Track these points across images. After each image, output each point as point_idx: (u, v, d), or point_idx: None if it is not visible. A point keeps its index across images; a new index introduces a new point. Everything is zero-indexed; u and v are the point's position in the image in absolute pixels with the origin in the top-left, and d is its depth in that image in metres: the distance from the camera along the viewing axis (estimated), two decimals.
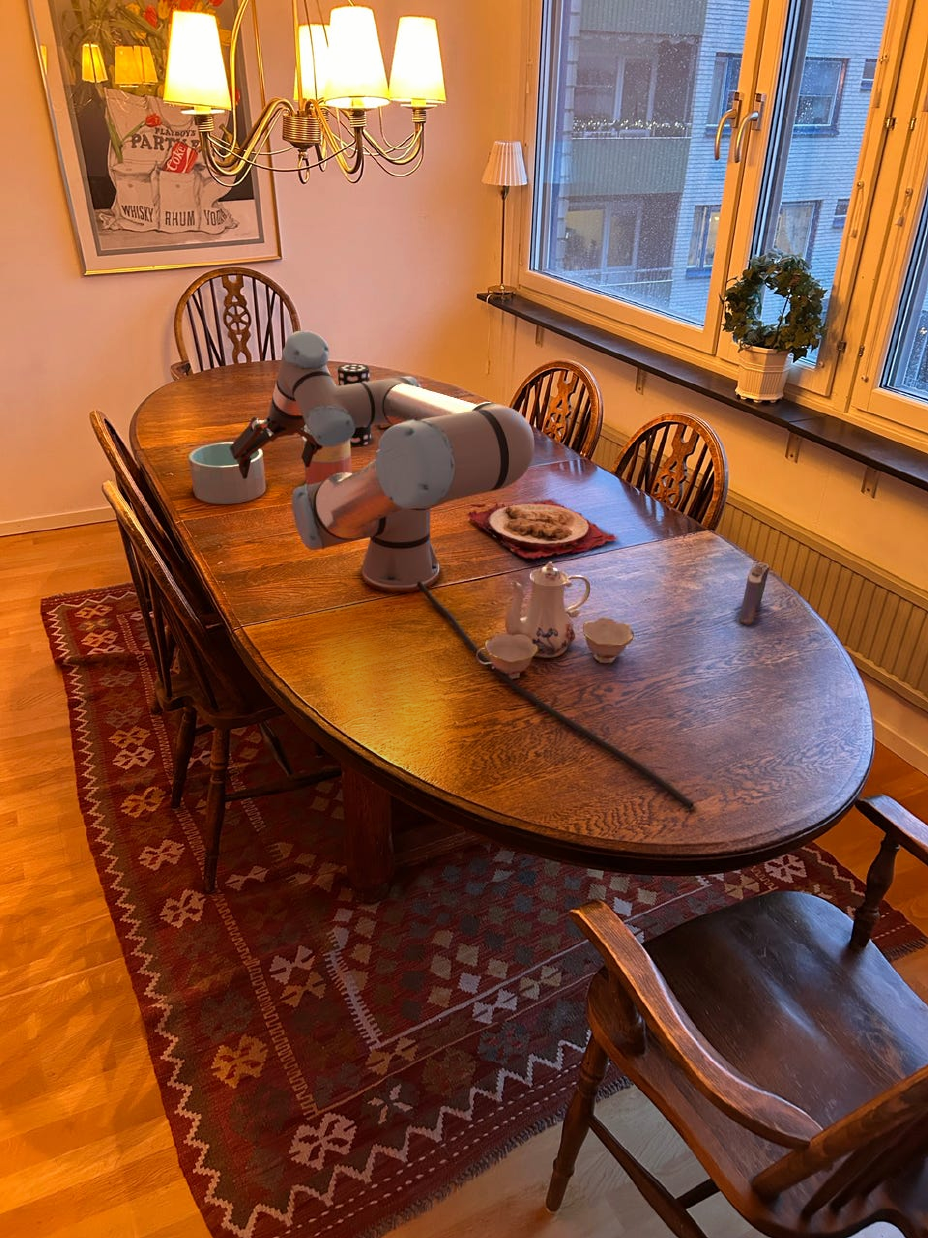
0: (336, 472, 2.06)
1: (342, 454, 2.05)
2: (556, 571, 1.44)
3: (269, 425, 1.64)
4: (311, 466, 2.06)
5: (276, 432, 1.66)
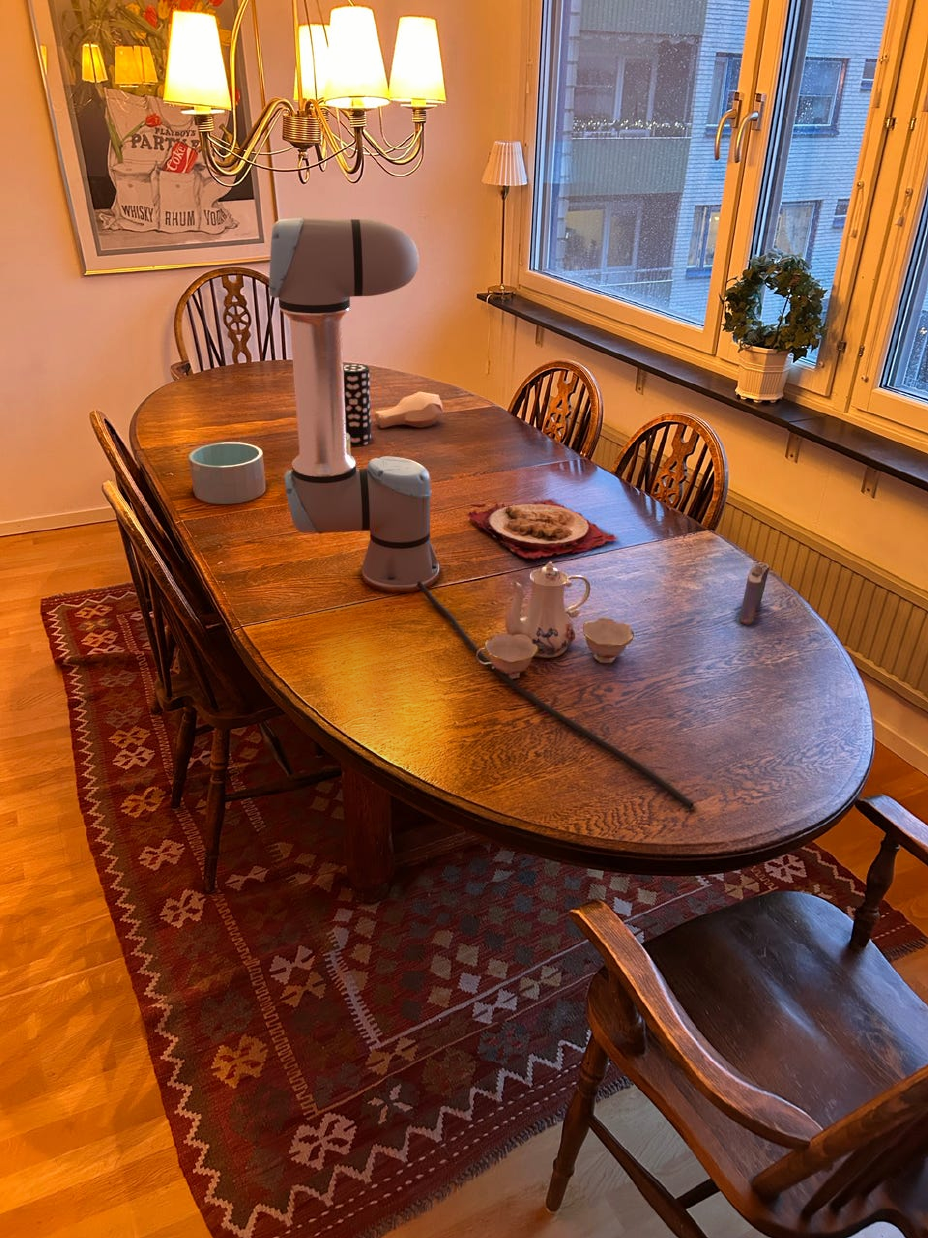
0: None
1: None
2: (556, 571, 1.44)
3: None
4: None
5: None
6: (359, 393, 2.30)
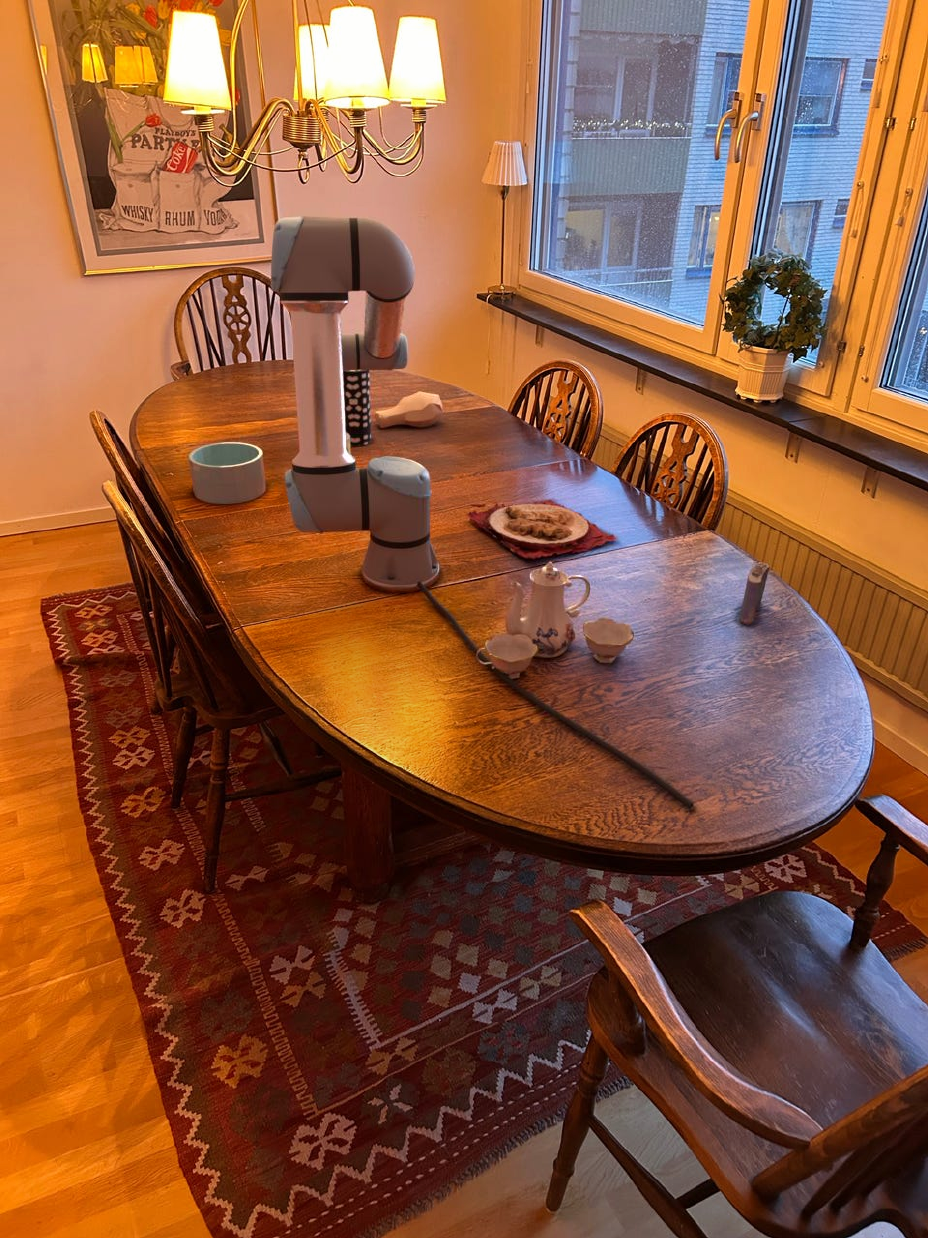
0: None
1: None
2: (556, 571, 1.44)
3: None
4: None
5: None
6: (359, 393, 2.30)
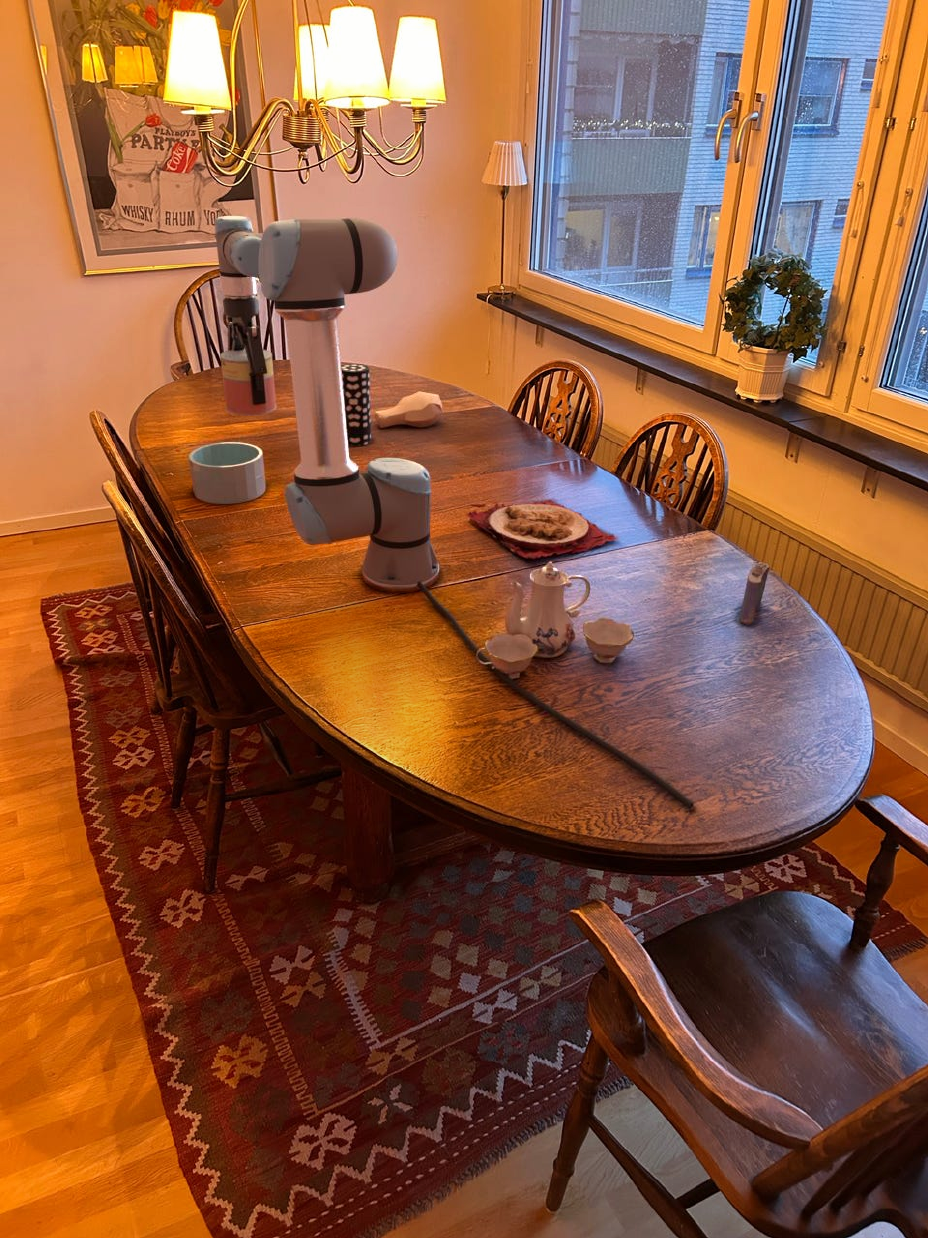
0: None
1: None
2: (556, 571, 1.44)
3: None
4: (229, 385, 1.92)
5: None
6: (359, 393, 2.30)
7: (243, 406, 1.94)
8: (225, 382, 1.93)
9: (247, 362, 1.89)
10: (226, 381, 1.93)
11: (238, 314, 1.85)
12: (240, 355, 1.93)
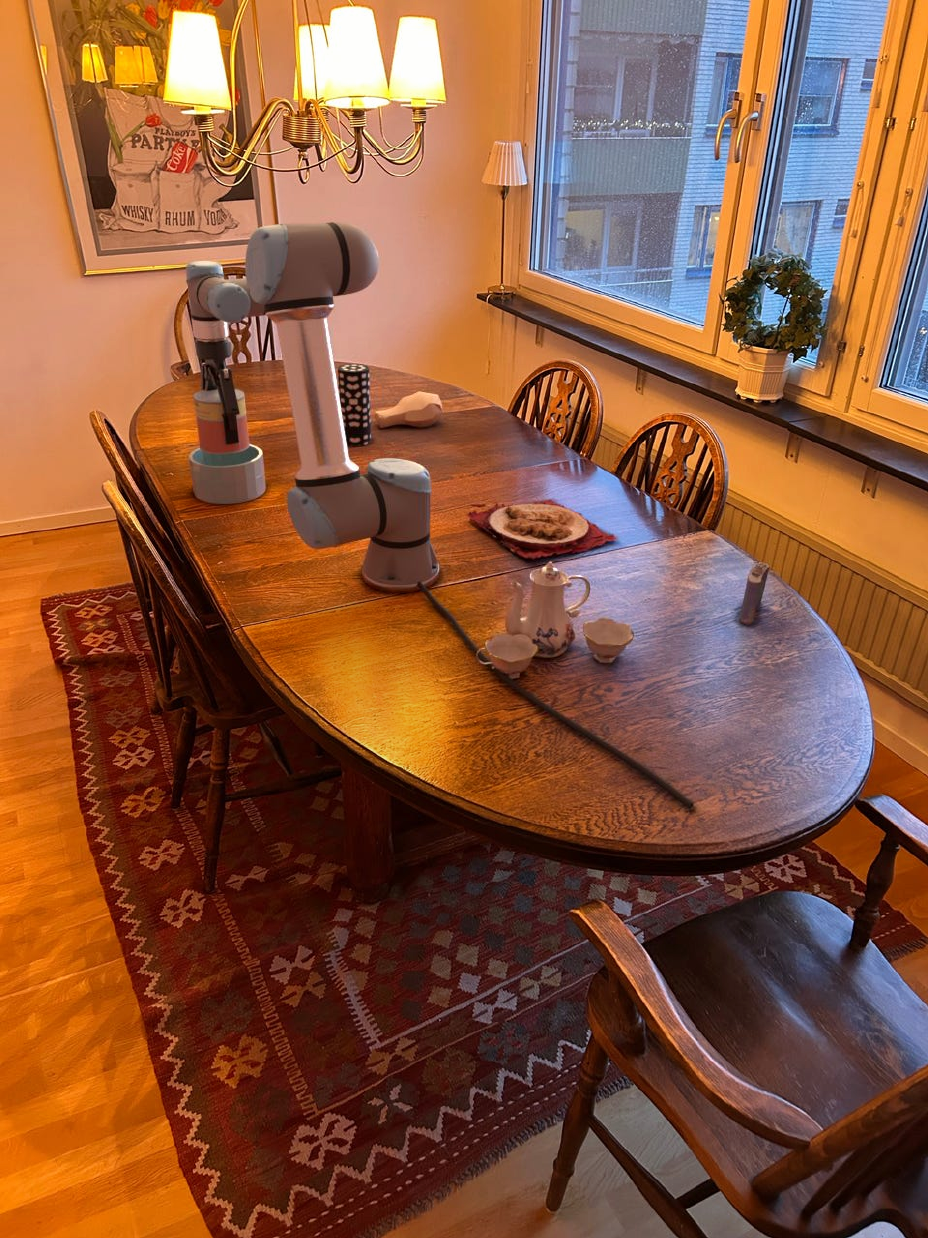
0: None
1: None
2: (556, 571, 1.44)
3: None
4: (202, 425, 1.95)
5: None
6: (359, 393, 2.30)
7: (216, 446, 1.97)
8: (198, 422, 1.96)
9: (219, 403, 1.92)
10: (199, 421, 1.96)
11: (210, 357, 1.88)
12: (213, 395, 1.96)
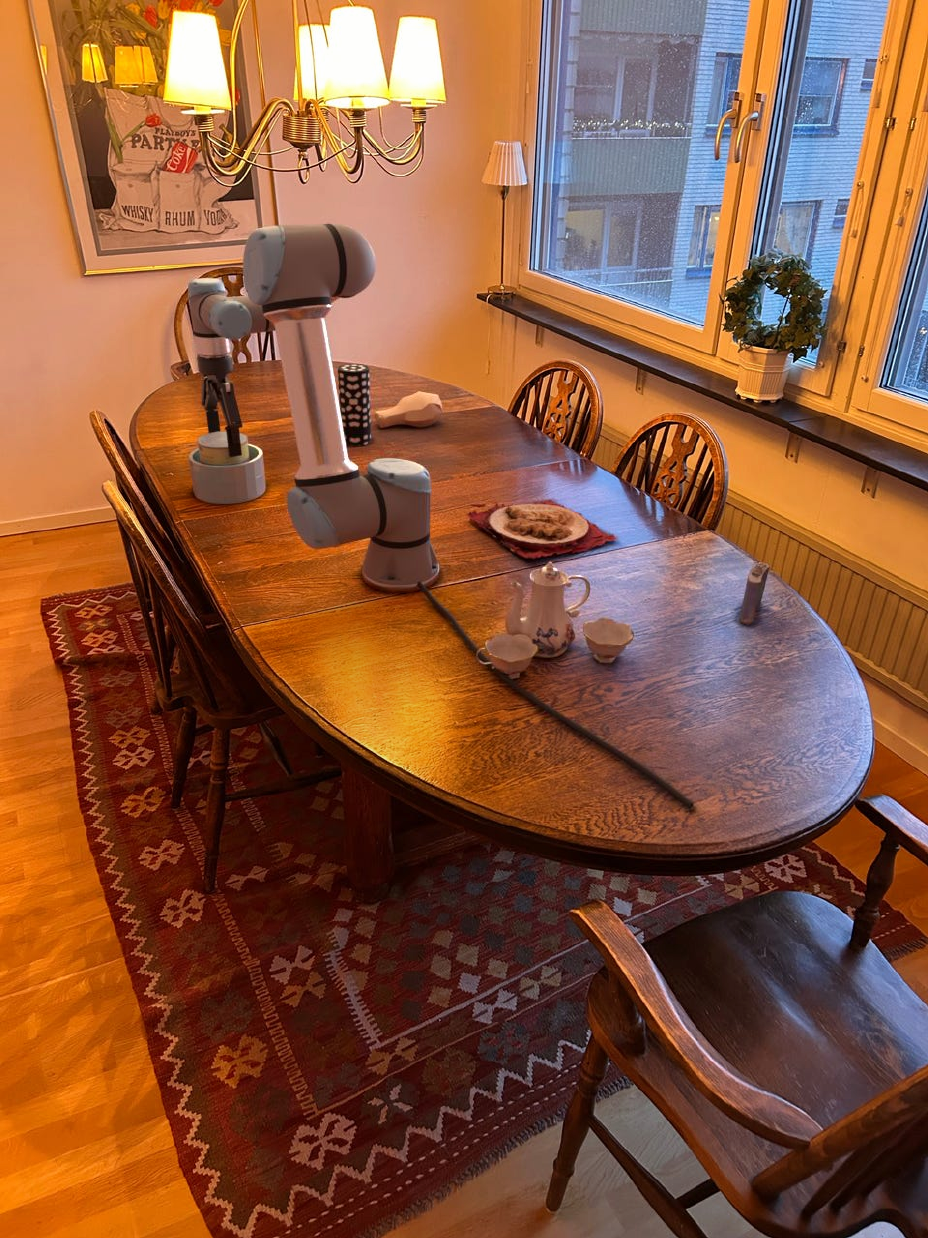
0: None
1: (238, 457, 2.00)
2: (556, 571, 1.44)
3: None
4: None
5: None
6: (359, 393, 2.30)
7: None
8: None
9: (223, 448, 1.97)
10: None
11: (212, 372, 1.90)
12: (217, 440, 2.01)
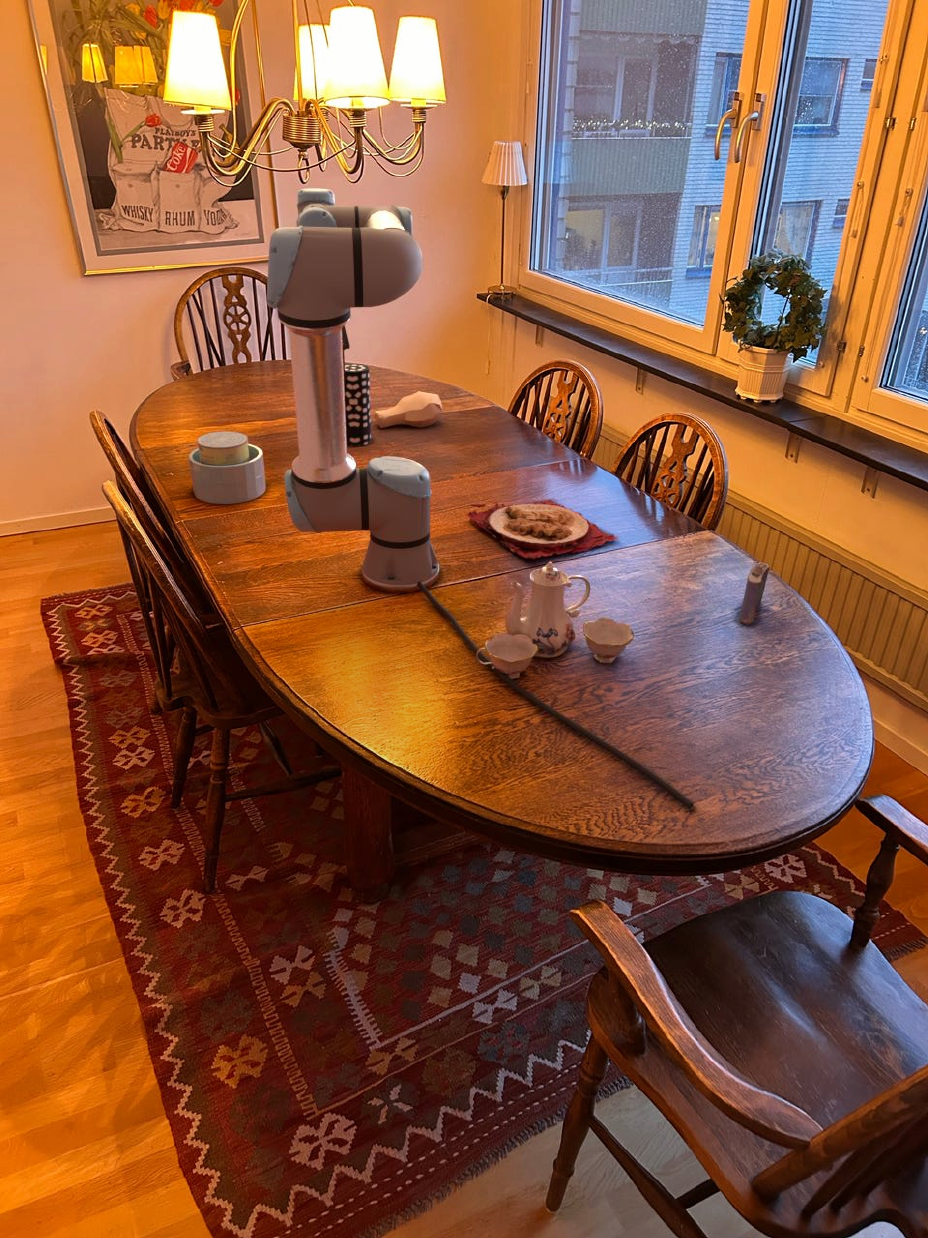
0: None
1: (238, 457, 2.00)
2: (556, 571, 1.44)
3: None
4: None
5: None
6: (359, 393, 2.30)
7: None
8: None
9: (223, 448, 1.97)
10: None
11: None
12: (217, 440, 2.01)
